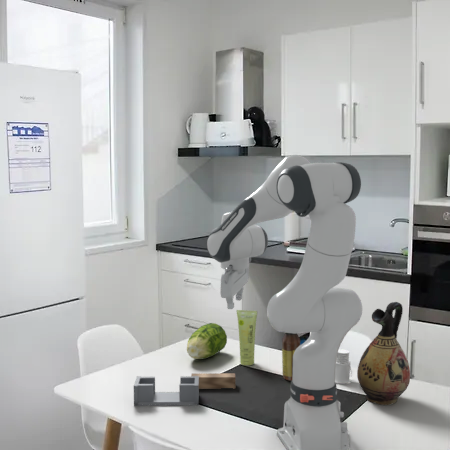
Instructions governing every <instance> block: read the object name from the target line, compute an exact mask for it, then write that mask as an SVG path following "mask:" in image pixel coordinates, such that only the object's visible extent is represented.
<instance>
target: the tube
mask: <svg viewBox="0 0 450 450" xmlns="http://www.w3.org/2000/svg"><path fill="white" fill-rule="evenodd" d="M236 316H237V326H238V337H239V338H238V339H239V360H240V361H239V362H240V365H242V366H253V365H254V364H255V349H256V348H255V347H256V346H255V345H256V344H255V341H256V326H257V318H258V310H247V309H246V310H245V309H244V310H243V309H236Z"/></svg>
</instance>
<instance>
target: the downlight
mask: <svg viewBox="0 0 450 450" xmlns="http://www.w3.org/2000/svg"><path fill="white" fill-rule="evenodd" d="M349 358H350V351H349V350H348V349H342V348H339V350H338V353H337V358H336V369H335V383H336V384H342V385H343V384H344V385H346V384H351V382H352V380H351V378H353V377H352V376H353V371H352V367H351V361H350V359H349ZM350 377H351V378H350Z"/></svg>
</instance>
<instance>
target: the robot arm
mask: <svg viewBox="0 0 450 450" xmlns="http://www.w3.org/2000/svg"><path fill="white" fill-rule="evenodd" d="M361 186H362V179H361V176H360V173H359V171H358V169H357V168H356V167H355V166H353V164H350V163H347V162H340V161H336V162H313V163H311V161H310V160H309V159H308V158H306V156H305V157H304V156H303V155H298V154H291V155H289V156H286V157H284V159H282V160H281V161H280V162H279V163H278V164H277V166H275V168H274V169H272V171H271V172H270V174H269V175H268V177H267V178H266V179H265V181H264V182H263V183H262V184H261V185H260V187H258V188H257V189H256V190H255V191H254V192H253V193H251V194H250V195H249V196H248V197H246V198H245V199H243V200H242V201H241V202H239V204H238V205H237V206H236V207H235V208H234V209H233V210H232V211H228V212H225V213H223V214H222V216H221V222H220V225H219V226H217V227H215V228H213V229H212V230H211V232H210V233H209V235H208V236H207V239H206V248H207V253H208V254H209V256H210V257H211V258H213V259H214V260H215V261H216V262H218V263H220V269H223V270H224V272H222V274H221V278H220V288H219V289H220V292H219V293H220V297H221V298H222V299H225V301H226V305H227V307H226V308H227V310H233V309H234V308H235V302H234V297H235V300H236V301H238V302H239V301H241V300H243V292H244V287H245V286H246V285H247V284H248V282H249V276H250V263H251V261H252V258H254V257H256V258H257V257H259V256H262V255H263V254H264V253H266V250H267V249H268V244H269V238H268V234H267V232H266V231H265V229H264V228H263V227H261V226H260V225H257V224H259V223H260V224H261V223H264V222H268V221H274V220H278V219H283V218H285V217H287V216H289V215H290V214H292V213H293V212H295V214H296V215H297V216H298V217H300V218H304V217H307V216H308V217H309V220H310V228H309V232H308V237H307V239H306V240H307V241H306V246H305V250H304V253H303V258H302V260H301V261H302V262H301V264H300V267H299V269H298V271H297V273H296V274H295V275H294V277H293V278H292V279H291V280H290V282H289V283H288V284H287V285H286V286H285V287H284V288H282V289H281V290H280V291H279V292H277V293H275V294H274V295H272V296H271V298H270V299H269V300H268V303H267V307H266V315H267V320H268V322H269V324H270V326H271V327H272V328H273V329H274V330H275V331H276V332H277V333H278V332H279V333H284V334H285V333H293V334H296V333H297V334H304V333H310V335H309V336H308V338H307V339H306V340H305V341H304V342H303V343H300V346H299V347H298V348H297V349H296V350H295V352H294V354H293V377H292V381H290V386H289V390H290V398H288V400H286V401H285V403H284V408H283V409H284V410H283V427H279V428H278V429H276V430H277V431H276V436H277V437H278V438H279V439H280V441H281V443H282V444H283V445H284V447H285V449H286V450H350V439H349V430H348V422H346V421H341V418H344V417H345V413H344V411H341V402H340V401H339V400H338V389H337V388H338V387H337V383H335V369H336V358H337V353H338V350H339V349H340V347H341V344H342V342H343V340H344V339H345V337H346V336H347V334H348V333H349V331H351V329H353V328H354V327H355V326H356V325H357V324H358V323H359V322H360V320H361V318H362V314H363V303H362V300H361V297H360V296H359V295H358V294H357V293H356V291H354V290H353V289H351V288H350V289H349V288H343V287H337V286H338V285H339V284H340V283H342V281H343V280H344V279H345V278H346V275H347V273H348V268H349V264H350V260H351V256H352V251H353V247H354V244H355V235H356V227H357V226H356V224H357V222H356V221H357V218H356V212H355V211H354V210H353V208H352V207H351V206H349V205H348V204H349V203H351V202H352V201H354V200H355V199H357V197H358V196H359V194H360V192H361V189H362V188H361Z"/></svg>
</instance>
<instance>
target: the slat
mask: <svg viewBox="0 0 450 450" xmlns="http://www.w3.org/2000/svg"><path fill="white" fill-rule="evenodd" d="M190 376H199V390H203V389H204V390H205V389H206V390H207V389H208V390H209V389H210V390H212V389H214V390H215V389H216V390H217V389H218V390H220V389H221V388H233V389H236V373H233V372H231V373H230V372H228V373H221V372H219V373H213V372H212V373H203V372H202V373H191V375H190ZM233 389H232V390H233ZM221 390H222V389H221Z"/></svg>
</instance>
